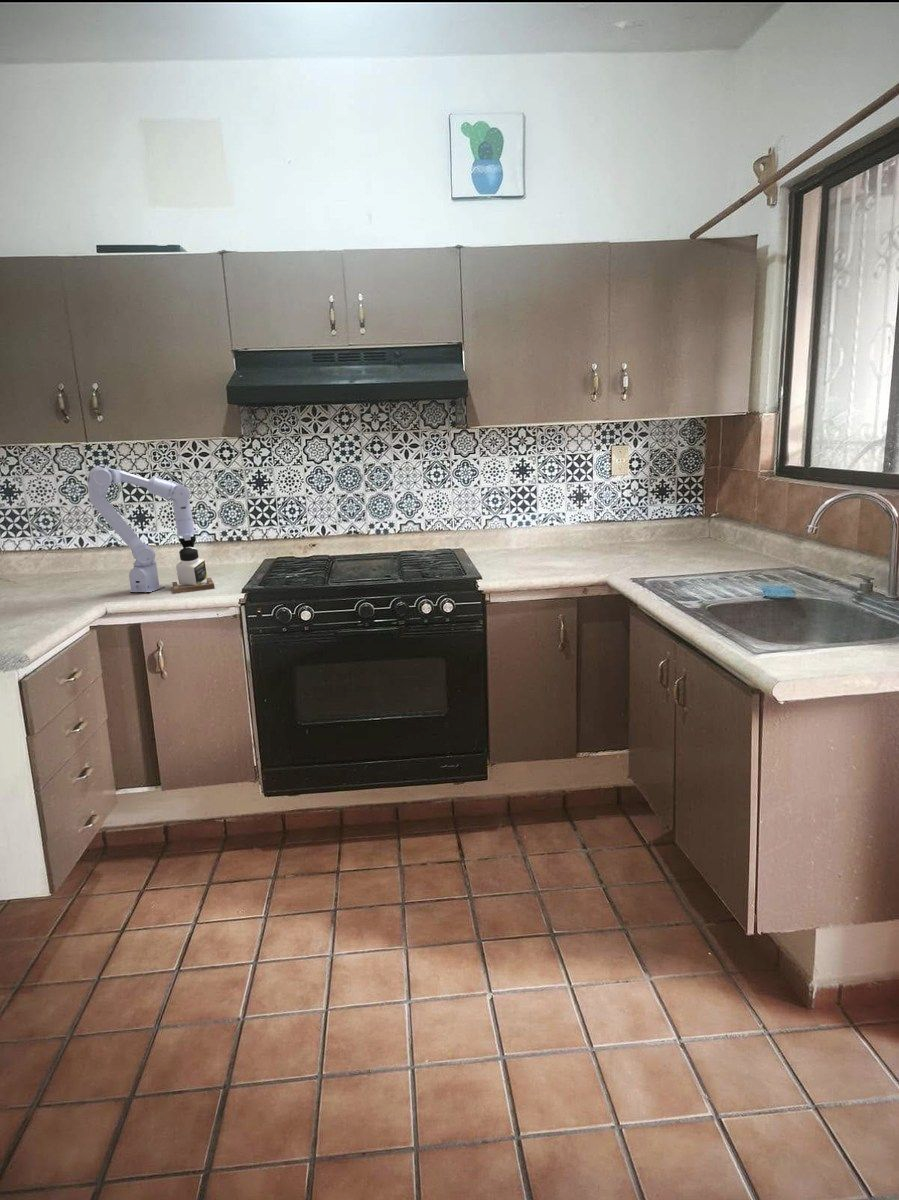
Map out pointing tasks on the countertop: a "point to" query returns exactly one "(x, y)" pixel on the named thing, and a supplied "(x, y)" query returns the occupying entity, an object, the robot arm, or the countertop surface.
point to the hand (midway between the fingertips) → (190, 557)
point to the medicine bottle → (190, 567)
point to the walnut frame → (193, 587)
